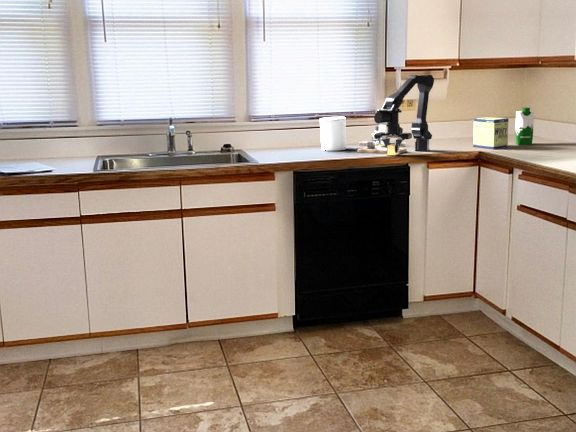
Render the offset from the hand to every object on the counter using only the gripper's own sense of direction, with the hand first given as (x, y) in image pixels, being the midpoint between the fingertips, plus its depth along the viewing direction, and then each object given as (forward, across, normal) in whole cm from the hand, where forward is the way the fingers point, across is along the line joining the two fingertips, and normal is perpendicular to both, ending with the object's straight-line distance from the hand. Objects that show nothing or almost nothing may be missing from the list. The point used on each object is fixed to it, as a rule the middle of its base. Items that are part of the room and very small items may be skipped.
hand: (393, 152), depth 352 cm
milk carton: (+1, -53, -57) cm, 78 cm away
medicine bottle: (+1, +21, -33) cm, 39 cm away
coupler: (+1, 0, 0) cm, 1 cm away
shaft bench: (+1, +10, -9) cm, 13 cm away
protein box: (+2, -39, -41) cm, 57 cm away
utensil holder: (+1, +41, -13) cm, 43 cm away
